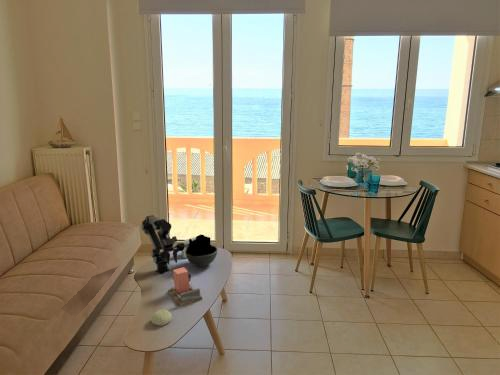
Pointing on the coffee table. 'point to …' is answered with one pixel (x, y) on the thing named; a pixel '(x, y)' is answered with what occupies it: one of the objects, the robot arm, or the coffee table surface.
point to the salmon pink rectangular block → (181, 280)
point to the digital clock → (186, 246)
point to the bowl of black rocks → (201, 251)
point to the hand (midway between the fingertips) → (172, 263)
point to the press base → (186, 295)
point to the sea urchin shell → (161, 317)
